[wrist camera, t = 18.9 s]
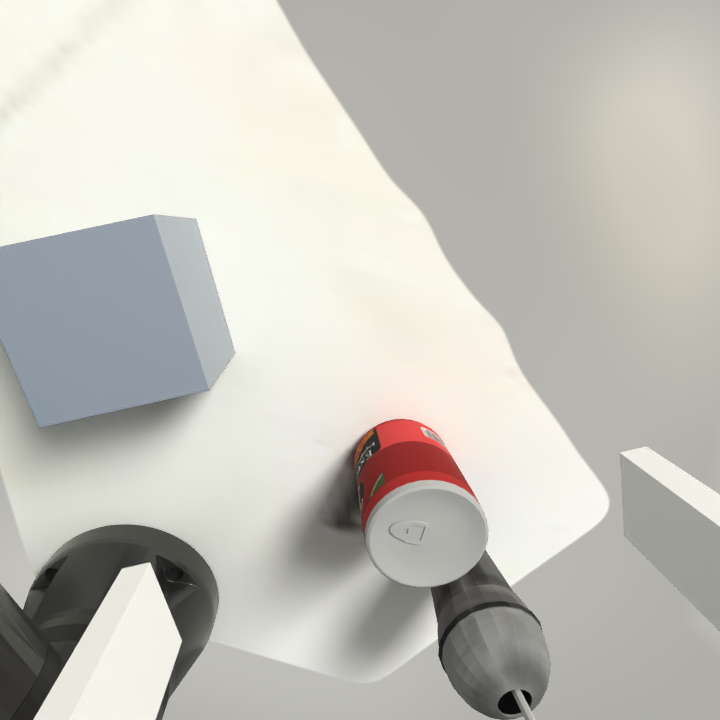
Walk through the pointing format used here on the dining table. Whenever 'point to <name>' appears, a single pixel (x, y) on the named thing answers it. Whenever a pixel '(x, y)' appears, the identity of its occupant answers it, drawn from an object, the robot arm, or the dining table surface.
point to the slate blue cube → (111, 317)
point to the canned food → (416, 506)
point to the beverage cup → (491, 644)
